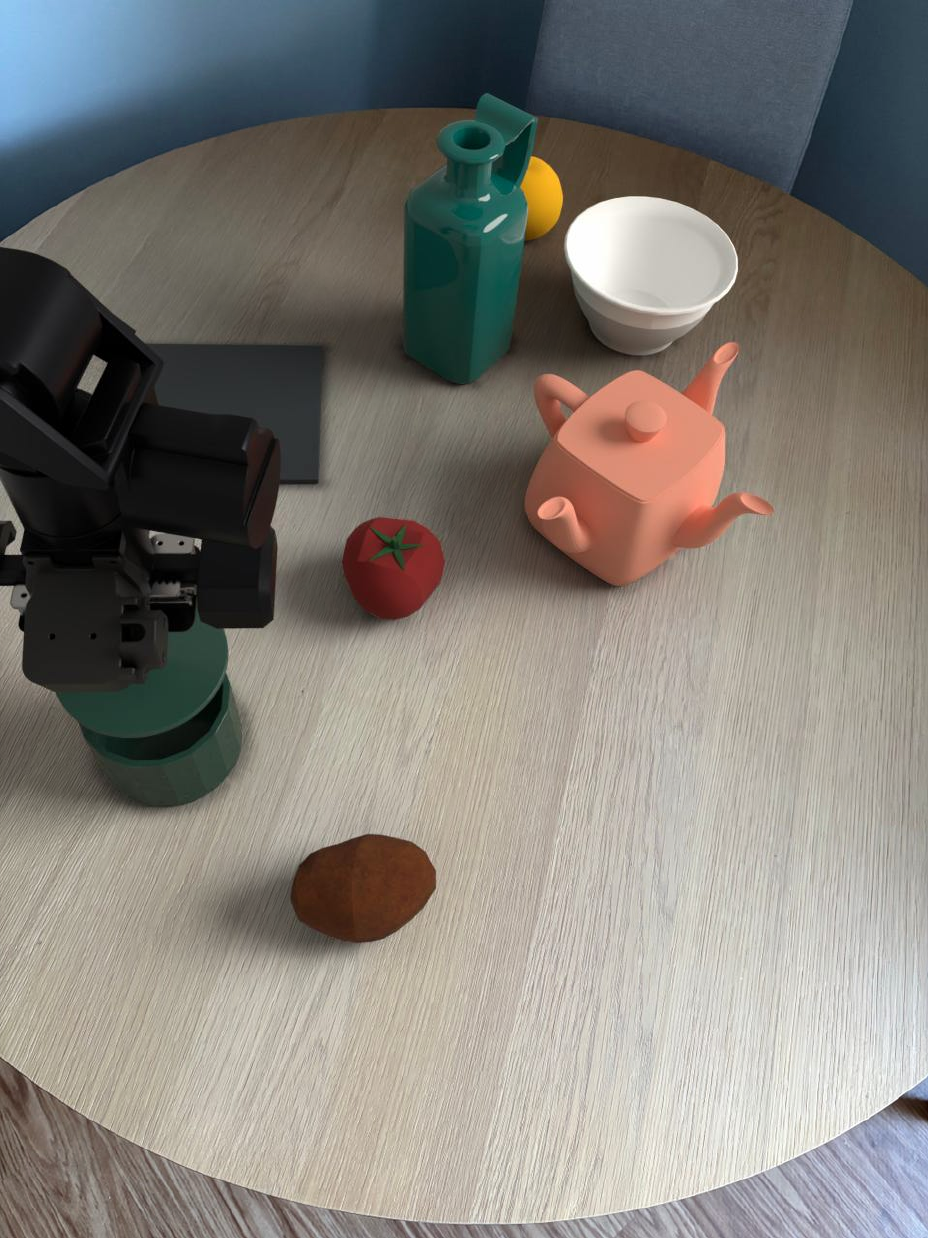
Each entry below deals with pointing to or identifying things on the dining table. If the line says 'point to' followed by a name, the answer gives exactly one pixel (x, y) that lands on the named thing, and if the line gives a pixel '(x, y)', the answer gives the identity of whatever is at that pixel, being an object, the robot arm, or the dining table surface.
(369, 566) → the tomato
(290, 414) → the mat
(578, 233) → the bowl
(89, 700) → the tin lid
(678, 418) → the pot
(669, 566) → the dining table surface
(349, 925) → the potato
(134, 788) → the tin
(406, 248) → the pitcher
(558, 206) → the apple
